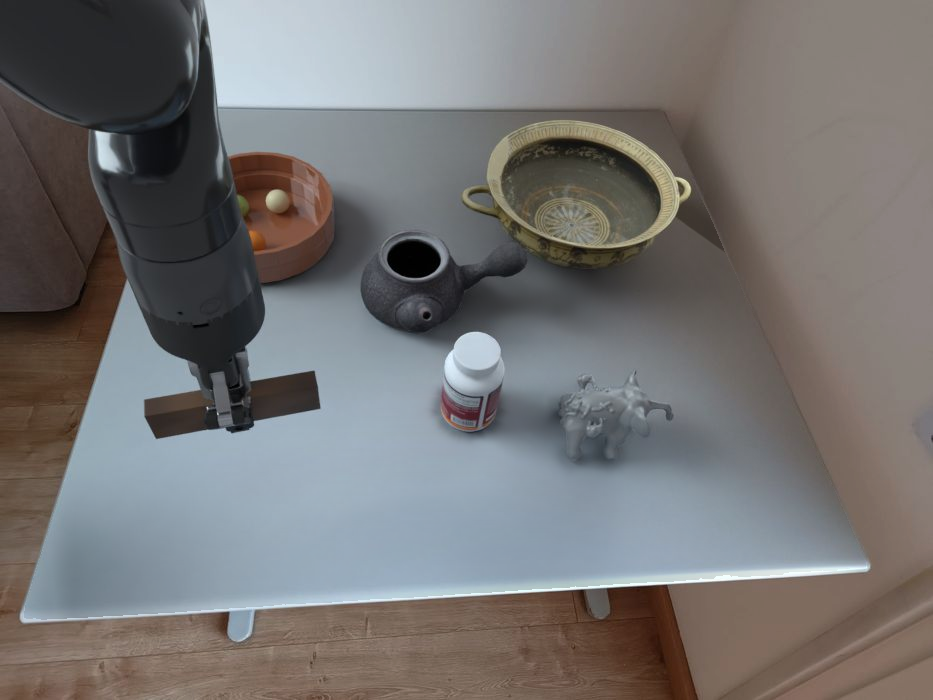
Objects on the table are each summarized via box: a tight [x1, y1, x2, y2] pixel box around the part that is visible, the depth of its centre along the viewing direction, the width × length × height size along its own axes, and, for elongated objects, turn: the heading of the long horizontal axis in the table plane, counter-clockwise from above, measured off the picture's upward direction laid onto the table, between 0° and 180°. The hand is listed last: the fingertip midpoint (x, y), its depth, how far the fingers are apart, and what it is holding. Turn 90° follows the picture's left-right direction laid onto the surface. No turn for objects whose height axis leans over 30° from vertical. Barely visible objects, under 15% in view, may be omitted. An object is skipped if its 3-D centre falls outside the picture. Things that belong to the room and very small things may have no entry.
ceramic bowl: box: [461, 119, 692, 270], centre depth 92 cm, size 30×24×10 cm
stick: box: [143, 370, 321, 440], centre depth 57 cm, size 13×2×4 cm, turn 106°
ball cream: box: [266, 190, 290, 213], centre depth 92 cm, size 3×3×3 cm
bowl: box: [228, 151, 336, 284], centre depth 89 cm, size 18×18×6 cm
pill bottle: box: [440, 331, 506, 433], centre depth 74 cm, size 6×6×11 cm
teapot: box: [360, 229, 528, 334], centre depth 83 cm, size 19×15×10 cm
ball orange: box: [249, 231, 266, 251], centre depth 87 cm, size 3×3×3 cm
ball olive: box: [237, 195, 249, 217], centre depth 91 cm, size 3×3×3 cm
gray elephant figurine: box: [557, 369, 674, 461], centre depth 75 cm, size 9×12×8 cm
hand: (239, 415), depth 58 cm, fingers closed on stick, 1 cm apart
